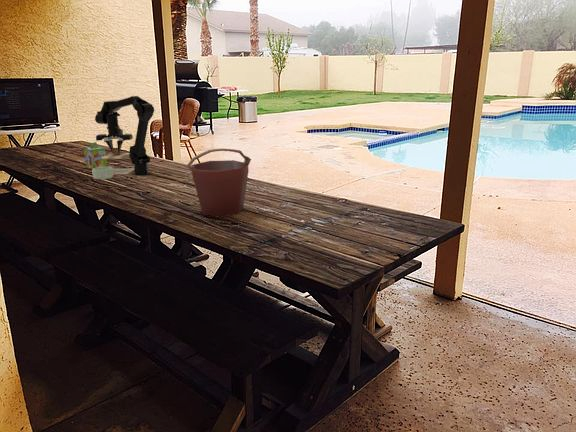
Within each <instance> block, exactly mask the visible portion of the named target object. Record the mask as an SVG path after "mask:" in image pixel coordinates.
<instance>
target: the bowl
mask: <svg viewBox="0 0 576 432" xmlns="http://www.w3.org/2000/svg"><path fill="white" fill-rule="evenodd" d="M113 169H114V168H113V167H111V166H108V167H97V168H93V169H91V172H92V178H93V179H94V180H105V179H106V180H107V179H111V178H113V177H114V174H113Z"/></svg>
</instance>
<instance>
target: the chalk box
mask: <svg viewBox="0 0 576 432" xmlns="http://www.w3.org/2000/svg"><path fill="white" fill-rule="evenodd" d="M93 145H94V146H93ZM106 150H107V149H106V148H104V147H99V146H98V144H97V142H95V141H94V142H89V147H88V148H83V154H84V160H85V168H86V169H91V170H92V169H93V168H97V167H109V166H108V159H101V157H103V156H105V155H107V151H106Z"/></svg>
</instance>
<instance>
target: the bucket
mask: <svg viewBox="0 0 576 432" xmlns="http://www.w3.org/2000/svg"><path fill="white" fill-rule="evenodd" d="M222 151H223V152H233V153H238V154H239V155H240V156H241V157H242V158H243V159H244V160H243V161H239V160H235V159H233V160H232V159H230V160H228V159H227V160H207V161H203V162H199V163H194V162H195V161H196V160H199V159H200V158H201V157H203V156H205V155H208V154H210V153H214V152H222ZM251 160H252V159H251V158H250V157H249V156H247V155H245V154H244V153H243V152H242V151H241V150H239V149H235V148H234V149H233V148H213V149H208V150H206V151H203V152H201V153H199V154H198V155H196V156H193V157H192V158H191V159H190V161H189V162H188V163H187V168H188V169H189V170H190V171H191V175H192V180H193V183H194V186H195V187H194V188H195V191H196V194H197V195H196V196H197V198H198V202H199V205H200V210H201V213H202V216H205V215H210V216H209V217H214V216H219V217H218V218H222V217H221V216H224V217H228V216H227V215H230V216H234V215H233V214H236V215H239V214H240V213H241V212H242V210H244V206H245V205H244V204H245V198H246V190H247V184H248V183H247V182H248V178H249V171H250V170H249V165H250V163H251Z"/></svg>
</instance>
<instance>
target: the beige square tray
mask: <svg viewBox="0 0 576 432" xmlns="http://www.w3.org/2000/svg"><path fill="white" fill-rule="evenodd" d="M129 154H130V153H129V152H127V153H125V152H124V153H123V152H122V153H121V152H120V153H119V152H118V147H113V148H112V151H111V153H110V152H109V153H106V155H105V156H103V157H101V159H107V160H118V159H119V160H122V159H123V160H125V159H126V158H129V157H130V156H129Z"/></svg>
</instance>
